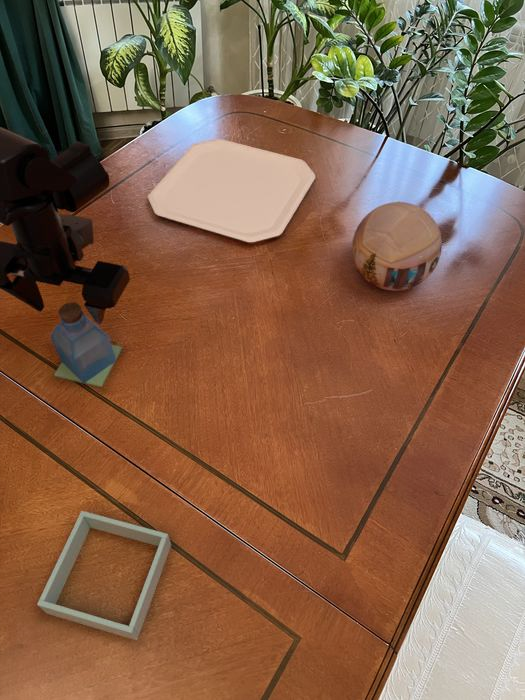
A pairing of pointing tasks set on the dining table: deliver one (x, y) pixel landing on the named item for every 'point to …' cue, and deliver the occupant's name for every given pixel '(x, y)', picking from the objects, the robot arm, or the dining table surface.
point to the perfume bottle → (81, 343)
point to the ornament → (396, 246)
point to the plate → (233, 190)
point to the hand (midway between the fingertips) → (71, 315)
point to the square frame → (69, 558)
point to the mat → (95, 381)
